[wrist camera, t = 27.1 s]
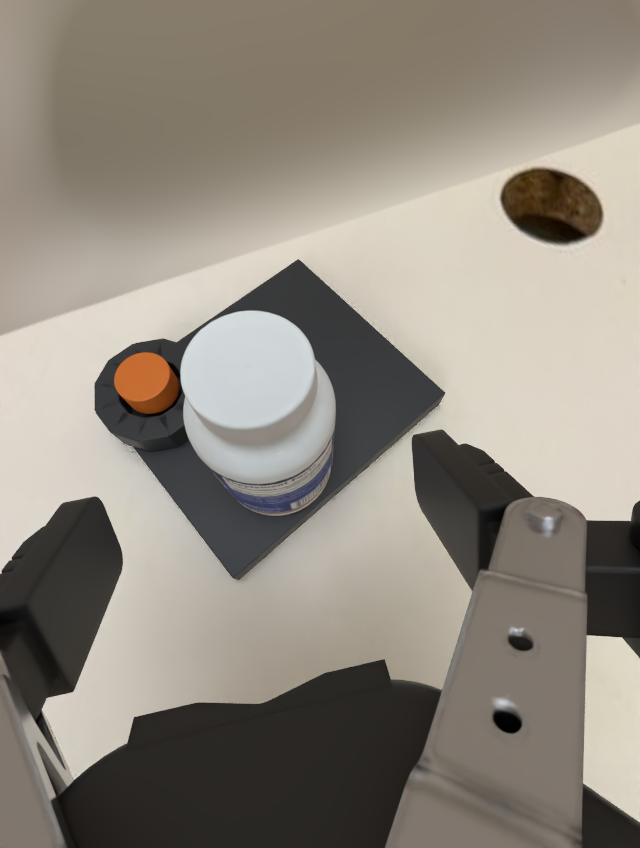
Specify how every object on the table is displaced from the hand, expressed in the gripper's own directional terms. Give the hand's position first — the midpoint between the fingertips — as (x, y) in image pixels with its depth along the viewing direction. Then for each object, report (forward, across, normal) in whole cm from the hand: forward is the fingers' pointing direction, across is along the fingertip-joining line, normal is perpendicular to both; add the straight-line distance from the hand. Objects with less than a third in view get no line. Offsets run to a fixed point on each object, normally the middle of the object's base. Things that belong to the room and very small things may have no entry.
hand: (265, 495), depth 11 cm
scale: (+13, 0, +2) cm, 14 cm away
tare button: (+12, +5, 0) cm, 13 cm away
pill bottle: (+10, 0, +4) cm, 11 cm away
